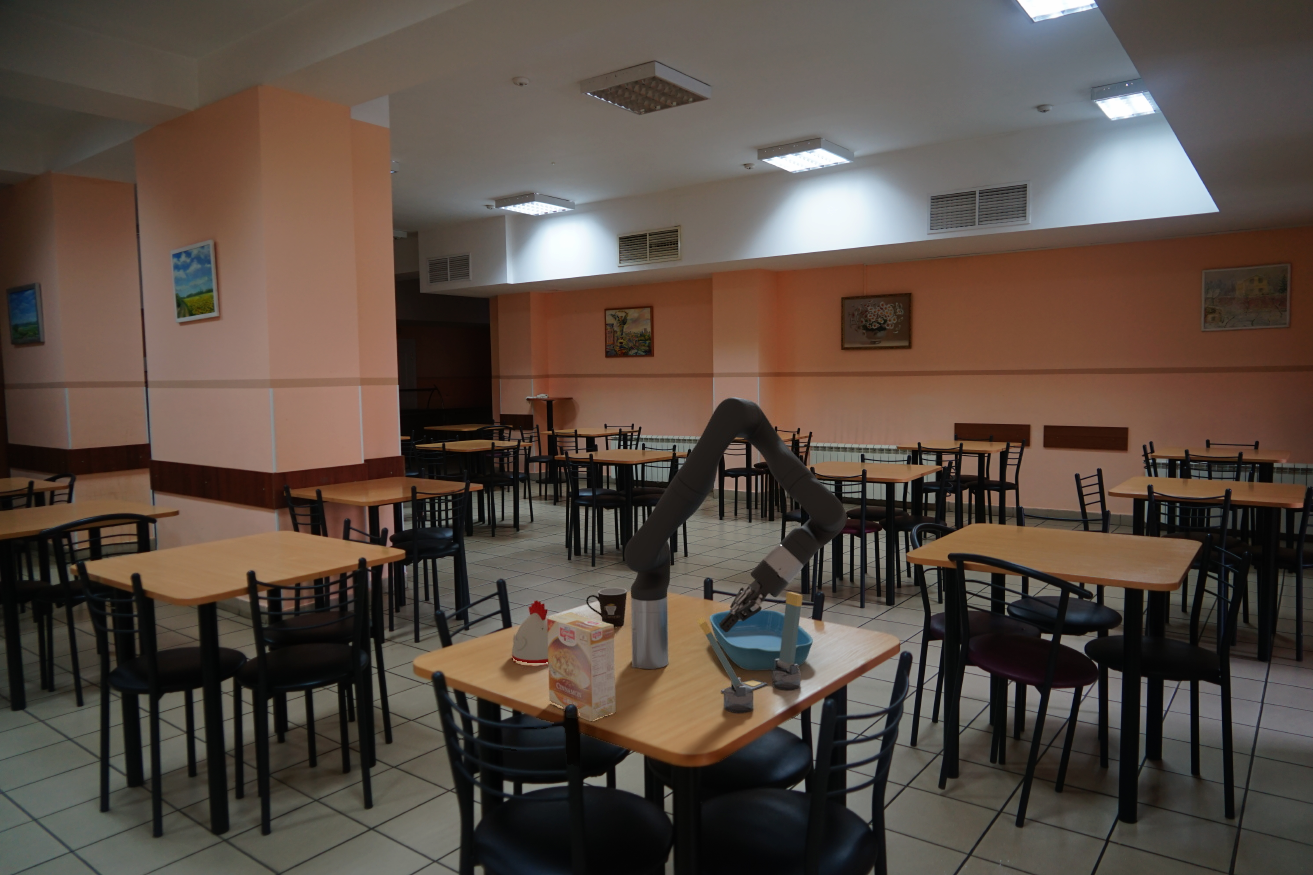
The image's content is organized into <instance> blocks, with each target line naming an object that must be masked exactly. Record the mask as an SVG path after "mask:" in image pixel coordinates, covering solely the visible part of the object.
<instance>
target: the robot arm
mask: <svg viewBox="0 0 1313 875" xmlns="http://www.w3.org/2000/svg"><path fill="white" fill-rule="evenodd" d="M736 438H738V439H739V438H740V439H744V440H745V441H747V443H749V444H751V446H753V447H754V448H755V449H756V450H757V451H758V452H759V453H760V455H761V456H762V457H763V459H764V461H765V463H766V464H767V467H768V469H769V471H770V473H771V475H772V476H773V478H774V479H775V481H776V482H777V483H778V484H779V485H780V486H781V488H783V490H784V491H785V492H786V493H787V494H788V495H789V497H790V498H792V499H793V500H794V501H795V502H797V503H798V504H799V505H800V506H801V507H802V509H803V510H804V511H805V512H806V513H807V514H808V516H809V517H810V518H809V519H808V520H807V521H806V522H805V523H804V524H802V525H801V526H799V527H795V528H793V529H791V531H790V532H789V533H788V534H787V535H786V536H785V537H784V538H783V539H782V540H781V542H779V544H777V545H776V546H775V547H773V548H772V549H771V550H770V551H769V552H768V553H767V554H766V556H764V558H763V559H762V560H761V561H760V562H759V563H758V564H757V565H756V566H755V568H754V569H752V571H751V572H750V576H751V577H752V578H753V579H754V581H752V582H751V583H750V584H748V585H746V586H745V587H744V586H743V587H740V589H739V590H738V592H737V593H736V595H735V597H734V599H733V601H732V602H731V604H730V606H729V608H730V609H729V610H730V612H729V614H728V615H727V616H726V617H725V618H724V619H723V620H722V621H721V622H720V623H719V626H720V628H721V629H722V630H723V631H724V632H728V631H729V630H730V629H731V628H732V627H733V626H734V625H735V624H736V623H737V622H738V621H741V620H742V621H745V620H746V619H748V618H749V617H751V616H753V615H754V614H756V613H758V612H759V611H760V610H763V609H762V608H763V607H762V606H761V605H762V604H764V602H765V599H766V598H767V596H768V595H771V597H773V598H778V596H779V595H780V594H781V593H782V592H783V591H784V589H786V588H787V587H788V586H789V585H790V583H792V581H793V580H794V579H795V578H796V577H797V576H798V574H799V573H800V572H801V570H802V569H803V568H804V566H806V564H808V563H809V561H810V560H811V559H812V558H814V556H815V555H816V553H817V552H818V551H819V550H820V549H821V548H823V547H825V546H826V545H827V544H828V543H829V542H831V541H832V540H833V539H834V538H836V536H838V535H839V534H840V533H841V532H842V530H843V529H844V528H845V526H846V524H847V521H848V514H847V511H846V510H845V507H844V505H843V503H842V502H841V501H840V499H839V498H838V497H837V496H836V495H835V494H834V493H833V492H832V491H831V490H830V489H828V488H827V486H825V485H824V484H823V483H821V482H820V480H819V479H818V477H816V476H815V474H814V473H813V472H812V471H811V470H810V469H809V468H808V467H807V466H806V465H805V464H804V463H803V462H802V460H800V458H798V457H797V455H796V454H794V452H793V451H792V450H791V449H790V448H789V447H788V445H787V444H786V443H785V442H784V440H783V439H782V437H780V434H779V433H778V432H777V431H776V430H775V428H774V427H773V425H772V423H771V422H770V420H769V419H768V417H767V415H766V414H765V413H764V412H763V410H762V409H761V407H760V406H759V405H758V404H757V403H756V402H754V401H752V400H750V399H745V398H742V397H733V396H731V397H727V398H725V399H723V400H722V401H721V402H720V403H719V404H718V405H717V406H716V408H715V409H714V411H713V413H712V415H711V417H710V419H709V420H708V423H707V425H706V426H705V428H704V430H703V432H702V434H701V436H700V437H699V439H698V441H697V443H696V444H695V446H693V448H692V450H691V451H690V453H689V455H688V456H687V458H686V459H685V461H684V463H683V464H682V466H680V468H679V469H678V471H677V472H676V473H675V475H674V476H673V478H672V480H671V481H670V483H669V485H668V486H667V488H666V489H665V491H664V492H663V494H662V495H661V497H660V498H659V500H658V502H657V503H656V505H655V506H654V508H653V510H652V512H651V513H650V514H649V516H648V517H647V519H646V520H645V521H644V523H643V524H642V525H641V526H640V527H639V528H638V530H637V531H636V532H635V533H634V534H633V535H632V537H631V538H630V539H629V540H628V541H627V543H626V546H625V548H624V556H623V557H624V561H625V564H626V566H627V567H628V568H629V569H630V570H631V571H633V572H635V573H637V574H636V577H635V579H634V581H633V583H632V584H631V587H630V606H631V608H630V610H631V611H630V612H631V613H630V614H631V622H630V624H631V627H630V628H631V663H632V664H631V665H632V668H638V669H645V670H653V669H659V668H663V667H666V666H667V665H668V664H669V655H670V654H669V626H668V625H669V624H668V623H669V621H668V619H669V618H668V616H669V614H668V590H669V585H670V582H671V548H670V543H669V542H668V540H669V539H670V537H671V536H672V535H673V534H674V533H675V532H676V531H677V530H678V529H679V528H680V527H681V526H682V525H683V524H685V523H686V521H687V520H689V519H690V518H691V517H692V516H693V515H694V513H695V512H697V510H698V509H699V508H700V507H701V506H702V504H703V503H704V501H705V500H706V499H707V497H708V495H709V494H710V492H711V491H712V490H713V487H714V485H715V482H716V479H717V474H718V469H719V468H718V467H719V464H720V461H721V459H722V456H723V455H724V453H725V452H726V451H727V449H728V448H729V447H730V446H731V444H732V443H733V442H734V440H736Z"/></svg>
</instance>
